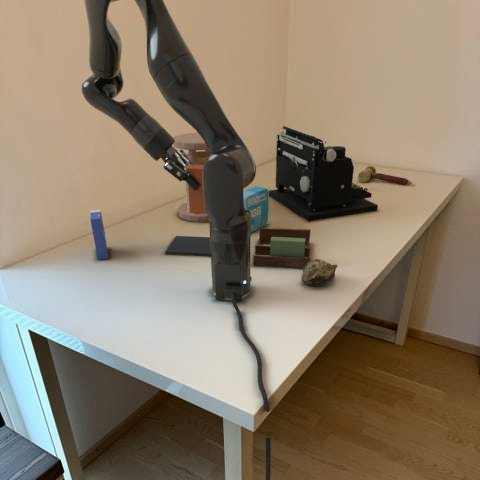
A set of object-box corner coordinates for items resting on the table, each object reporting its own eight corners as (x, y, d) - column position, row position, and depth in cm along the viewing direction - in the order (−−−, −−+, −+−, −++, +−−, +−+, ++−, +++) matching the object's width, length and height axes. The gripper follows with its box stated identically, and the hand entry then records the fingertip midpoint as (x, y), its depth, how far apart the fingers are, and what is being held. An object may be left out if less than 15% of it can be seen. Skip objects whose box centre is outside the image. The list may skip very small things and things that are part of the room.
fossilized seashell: (315, 285, 110) (346, 281, 115) (311, 257, 110) (342, 254, 115) (296, 289, 116) (326, 285, 121) (291, 263, 116) (322, 260, 121)
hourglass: (198, 202, 171) (194, 130, 158) (238, 210, 163) (238, 135, 150) (168, 216, 158) (161, 139, 145) (210, 225, 151) (207, 145, 137)
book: (223, 214, 127) (222, 169, 121) (187, 212, 128) (184, 168, 122) (225, 209, 131) (224, 165, 124) (190, 207, 132) (188, 164, 126)
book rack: (308, 268, 123) (309, 253, 121) (253, 266, 125) (253, 250, 122) (309, 244, 137) (310, 229, 135) (259, 241, 139) (259, 227, 137)
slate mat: (235, 257, 130) (235, 254, 129) (165, 254, 132) (165, 251, 132) (240, 241, 140) (240, 238, 139) (176, 238, 142) (175, 235, 142)
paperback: (303, 266, 124) (305, 241, 121) (270, 264, 125) (270, 240, 122) (303, 262, 126) (305, 238, 123) (270, 260, 127) (271, 236, 124)
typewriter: (377, 210, 161) (388, 134, 148) (308, 221, 153) (313, 141, 140) (330, 187, 186) (336, 120, 173) (268, 195, 178) (270, 125, 164)
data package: (246, 235, 143) (245, 196, 137) (234, 232, 146) (234, 194, 139) (268, 224, 151) (269, 187, 145) (257, 221, 154) (257, 185, 147)
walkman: (108, 258, 130) (100, 217, 123) (97, 259, 129) (90, 218, 123) (107, 248, 136) (100, 208, 130) (97, 249, 135) (90, 208, 129)
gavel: (416, 174, 189) (410, 180, 181) (413, 185, 191) (407, 192, 184) (366, 164, 197) (359, 170, 190) (364, 175, 200) (357, 181, 192)
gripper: (151, 142, 129) (196, 187, 134) (135, 154, 117) (185, 203, 122) (168, 122, 125) (214, 169, 130) (153, 132, 113) (204, 183, 118)
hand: (200, 185), depth 126 cm, fingers closed on book, 4 cm apart
